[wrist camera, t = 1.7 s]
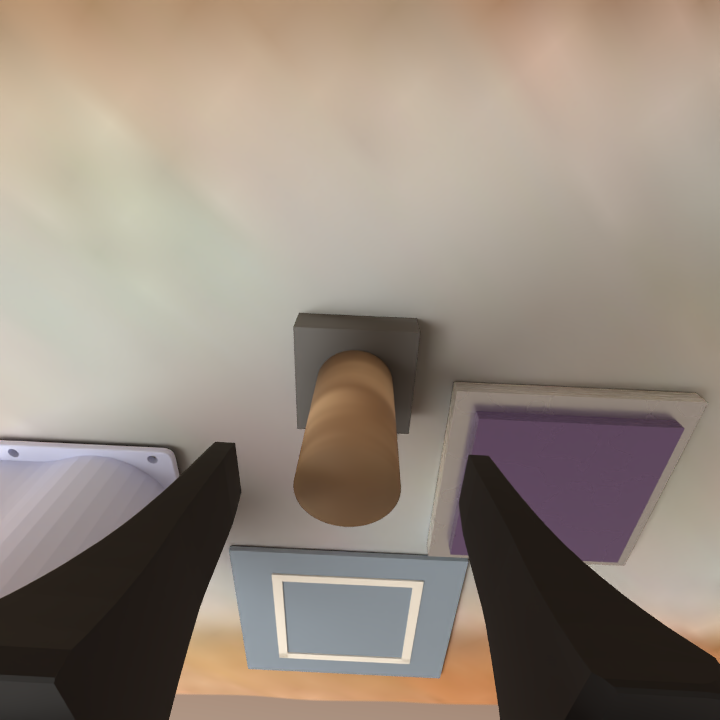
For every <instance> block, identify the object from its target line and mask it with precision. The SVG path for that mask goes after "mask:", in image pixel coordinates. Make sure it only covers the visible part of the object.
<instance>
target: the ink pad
mask: <svg viewBox="0 0 720 720" xmlns="http://www.w3.org/2000/svg"><path fill="white" fill-rule="evenodd" d="M707 404H708V402H706V401H705V400H704V399H703V398H701V397H700V396H699V395H698V394H697V393H687V392H665V391H643V390H622V389H600V388H579V387H557V386H536V385H514V384H493V383H471V382H454V385H453V391H452V397H451V403H450V409H449V415H448V421H447V427H446V433H445V439H444V445H443V451H442V457H441V463H440V469H439V474H438V480H437V486H436V492H435V498H434V504H433V510H432V516H431V522H430V528H429V534H428V540H427V549H428V556H436V557H457V558H469V556H468V553H467V549H466V545H465V541H464V537H463V532H462V525H461V518H460V510H459V498H460V493H461V488H462V484H463V479H464V474H465V469H466V464H467V460H468V455H486V456H489V457H490V458H491V459H492V460H493V462H494V463H495V464H496V466H497V467H498V468H499V469H500V471H501V472H502V473H503V475H504V476H505V477H506V478H507V480H508V481H509V482H510V483H511V485H512V486H513V487H514V489H515V490H516V491H517V492H518V493H519V495H520V496H521V497H522V498H523V499H524V501H525V502H526V503H527V504H528V505H529V506H530V508H531V509H532V510H533V511H534V512H535V513H536V515H537V516H538V517H539V518H540V519H541V520H542V521H543V522H544V523H545V525H546V526H547V527H548V528H549V529H550V530H551V531H552V532H553V533H554V534H555V535H556V536H557V537H558V538H559V539H560V540H561V541H562V542H563V543H564V544H565V545H566V546H567V547H568V548H569V549H570V550H571V551H572V552H573V553H575V554H576V555H577V556H578V557H579V558H580V559H581V560H582V561H583V562H584V563H585V564H602V565H623V566H624V565H625V563H626V561H627V559H628V557H629V555H630V553H631V551H632V549H633V548H634V546H635V544H636V542H637V540H638V538H639V536H640V534H641V532H642V530H643V528H644V526H645V524H646V522H647V520H648V518H649V516H650V515H651V513H652V511H653V509H654V507H655V505H656V503H657V501H658V499H659V497H660V495H661V493H662V491H663V489H664V487H665V485H666V483H667V482H668V480H669V478H670V476H671V474H672V472H673V470H674V468H675V466H676V464H677V462H678V460H679V458H680V456H681V454H682V452H683V450H684V448H685V447H686V445H687V443H688V441H689V439H690V437H691V435H692V433H693V431H694V429H695V427H696V425H697V423H698V421H699V419H700V417H701V415H702V414H703V412H704V410H705V408H706V406H707Z"/></svg>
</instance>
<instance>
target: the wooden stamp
mask: <svg viewBox="0 0 720 720" xmlns="http://www.w3.org/2000/svg"><path fill="white" fill-rule="evenodd" d="M293 328H294V354H295V379H296V404H297V429H305V434H304V438H303V442H302V447H301V451H300V455H299V460H298V464H297V469H296V473H295V478H294V484H293V488H294V493H295V496H296V499H297V501H298V502H299V504H300V505H301V507H302V508H303V509H304V510H305V511H306V512H307V513H309V514H310V515H311V516H313V517H314V518H316V519H318V520H320V521H323V522H325V523H328V524H332V525H336V526H344V527H355V526H362V525H367V524H370V523H373V522H376V521H378V520H380V519H382V518H383V517H385V516H386V515H387V514H389V513H390V512H391V511H392V510H393V508H394V507H395V506H396V504H397V502H398V500H399V497H400V493H401V483H400V470H399V457H398V444H397V434H409V426H410V417H411V408H412V400H413V391H414V382H415V374H416V365H417V356H418V348H419V339H420V330H419V325H418V321H417V318H397V317H374V316H352V315H330V314H308V313H299V315H298V317H297V319H296V322H295V324H294V327H293Z"/></svg>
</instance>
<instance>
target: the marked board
mask: <svg viewBox="0 0 720 720" xmlns="http://www.w3.org/2000/svg"><path fill="white" fill-rule="evenodd" d="M229 553H230V559H231V566H232V572H233V578H234V584H235V590H236V596H237V603H238V609H239V615H240V621H241V627H242V633H243V640H244V646H245V652H246V658H247V664H248V669H262V670H282V671H302V672H322V673H342V674H363V675H383V676H403V677H423V678H440V675H441V671H442V667H443V663H444V659H445V655H446V651H447V647H448V643H449V639H450V635H451V630H452V626H453V622H454V618H455V614H456V610H457V606H458V602H459V598H460V594H461V590H462V585H463V581H464V577H465V573H466V569H467V565H468V559H467V558H457V557H436V556H428V555H407V554H386V553H365V552H345V551H324V550H303V549H282V548H262V547H241V546H230V549H229Z"/></svg>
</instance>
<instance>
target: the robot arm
mask: <svg viewBox="0 0 720 720" xmlns="http://www.w3.org/2000/svg"><path fill="white" fill-rule="evenodd" d="M152 456H155V457H156V458H154V457H152ZM240 495H241V486H240V478H239V470H238V463H237V455H236V447H235V443H226V442H215V443H214V444H212V445H211V446H210V447H209V448H208V449H207V450H206V451H205V452H204V453H203V454H202V455H201V456H200V457H199V458H198V459H197V460H196V461H195V462H194V463H193V464H192V465H191V466H190V467H189V468H188V469H187V470H186V471H185V472H184V473H182V474H181V475H180V476H179V471H178V466H177V462H176V457H175V454H174V453H173V452H172V451H171V450H169V449H167V448H156V447H135V446H114V445H93V444H71V443H50V442H29V441H8V440H0V720H169V717H170V713H171V709H172V705H173V701H174V698H175V694H176V690H177V686H178V682H179V678H180V675H181V671H182V668H183V664H184V660H185V657H186V653H187V650H188V646H189V642H190V639H191V636H192V632H193V629H194V626H195V622H196V619H197V615H198V612H199V609H200V606H201V603H202V600H203V598H204V595H205V592H206V589H207V587H208V584H209V582H210V580H211V577H212V575H213V572H214V570H215V567H216V565H217V562H218V560H219V557H220V555H221V552H222V550H223V547H224V545H225V542H226V540H227V537H228V535H229V532H230V529H231V527H232V524H233V521H234V518H235V514H236V510H237V507H238V503H239V499H240ZM459 510H460V518H461V525H462V532H463V537H464V541H465V545H466V549H467V553H468V556H469V560H470V564H471V568H472V572H473V575H474V579H475V583H476V587H477V591H478V594H479V598H480V602H481V606H482V610H483V614H484V619H485V623H486V629H487V635H488V641H489V647H490V653H491V659H492V666H493V672H494V679H495V686H496V692H497V699H498V706H499V713H500V720H720V664H719V663H718V661H717V660H716V658H715V657H713V656H712V655H710V654H708V653H707V652H705V651H704V650H702V649H701V648H699V647H698V646H696V645H694V644H693V643H691V642H690V641H688V640H687V639H685V638H684V637H682V636H681V635H679V634H677V633H676V632H674V631H673V630H671V629H670V628H668V627H667V626H665V625H664V624H662V623H661V622H660V621H658V620H657V619H655V618H654V617H653V616H651V615H650V614H648V613H647V612H646V611H644V610H643V609H641V608H640V607H639V606H637V605H636V604H635V603H633V602H632V601H631V600H629V599H628V598H627V597H625V596H624V595H623V594H621V593H620V592H619V591H618V590H616V589H615V588H614V587H613V586H612V585H610V584H609V583H608V582H607V581H605V580H604V579H603V578H602V577H600V576H599V575H598V574H597V573H596V572H595V571H593V570H592V569H591V568H590V567H589V566H588V565H586V564H585V563H584V562H583V561H582V560H581V559H580V558H579V557H578V556H577V555H576V554H575V553H573V552H572V551H571V550H570V549H569V548H568V547H567V546H566V545H565V544H564V543H563V542H562V541H561V540H560V539H559V538H558V537H557V536H556V535H555V534H554V533H553V532H552V531H551V530H550V529H549V528H548V527H547V526H546V525H545V523H544V522H543V521H542V520H541V519H540V518H539V517H538V516H537V515H536V513H535V512H534V511H533V510H532V509H531V508H530V506H529V505H528V504H527V503H526V502H525V501H524V499H523V498H522V497H521V496H520V495H519V493H518V492H517V491H516V490H515V489H514V487H513V486H512V485H511V483H510V482H509V481H508V480H507V478H506V477H505V476H504V475H503V473H502V472H501V471H500V469H499V468H498V467H497V466H496V464H495V463H494V462H493V460H492V459H491V458H490V457H489V456H486V455H468V460H467V464H466V469H465V474H464V479H463V484H462V488H461V493H460V498H459Z"/></svg>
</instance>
